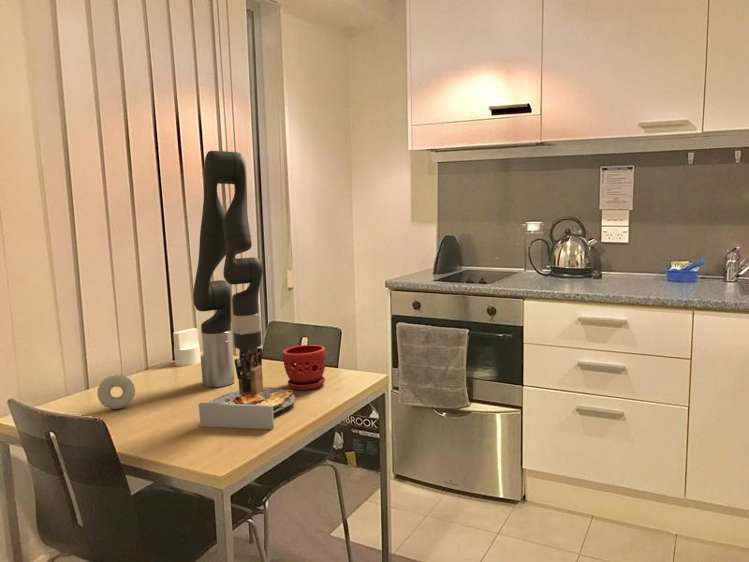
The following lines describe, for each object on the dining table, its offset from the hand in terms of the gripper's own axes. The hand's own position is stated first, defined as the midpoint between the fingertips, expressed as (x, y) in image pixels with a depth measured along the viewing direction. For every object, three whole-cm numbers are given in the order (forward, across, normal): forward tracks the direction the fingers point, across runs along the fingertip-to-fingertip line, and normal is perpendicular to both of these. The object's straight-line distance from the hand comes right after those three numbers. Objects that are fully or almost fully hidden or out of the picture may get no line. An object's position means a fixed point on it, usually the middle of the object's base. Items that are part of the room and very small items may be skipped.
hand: (251, 388), depth 168 cm
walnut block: (+1, 0, 0) cm, 1 cm away
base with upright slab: (+6, -44, -44) cm, 62 cm away
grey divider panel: (+5, +14, +2) cm, 16 cm away
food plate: (+6, 0, 0) cm, 6 cm away
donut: (+6, +5, -39) cm, 40 cm away
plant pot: (+6, -21, +9) cm, 24 cm away
